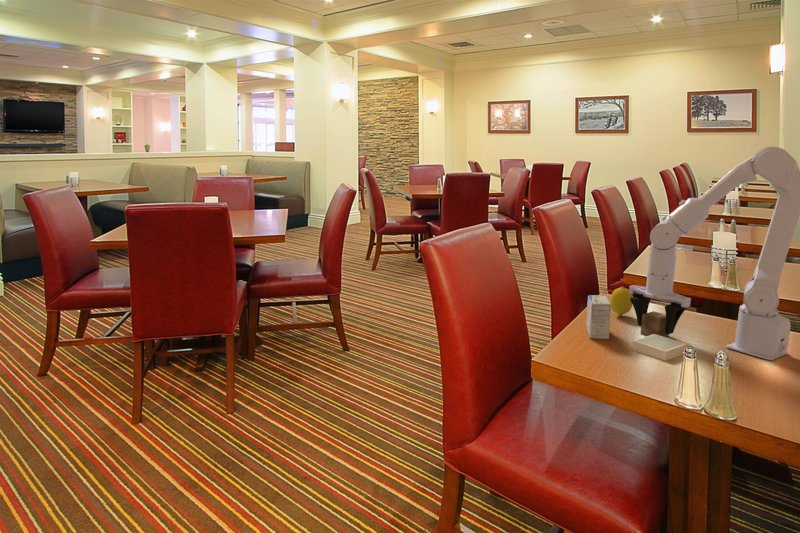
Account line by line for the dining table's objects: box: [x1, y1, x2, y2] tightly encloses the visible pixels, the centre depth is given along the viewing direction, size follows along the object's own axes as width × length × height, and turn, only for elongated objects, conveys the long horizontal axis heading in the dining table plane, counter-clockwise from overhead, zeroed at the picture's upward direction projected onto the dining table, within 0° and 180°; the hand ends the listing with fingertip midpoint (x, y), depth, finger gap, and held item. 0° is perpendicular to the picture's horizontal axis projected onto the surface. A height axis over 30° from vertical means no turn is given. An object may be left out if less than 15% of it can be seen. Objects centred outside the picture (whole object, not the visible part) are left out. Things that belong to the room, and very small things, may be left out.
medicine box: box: [585, 294, 612, 340], centre depth 136 cm, size 8×4×9 cm, turn 168°
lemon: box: [609, 286, 633, 317], centre depth 150 cm, size 6×6×8 cm
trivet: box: [631, 334, 688, 361], centre depth 126 cm, size 8×8×3 cm
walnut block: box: [640, 310, 670, 338], centre depth 136 cm, size 4×4×5 cm
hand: (655, 329), depth 136 cm, fingers open, 7 cm apart
